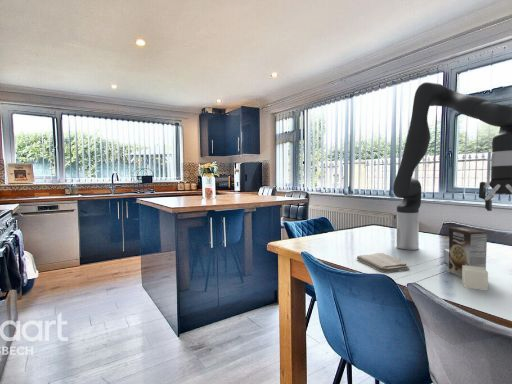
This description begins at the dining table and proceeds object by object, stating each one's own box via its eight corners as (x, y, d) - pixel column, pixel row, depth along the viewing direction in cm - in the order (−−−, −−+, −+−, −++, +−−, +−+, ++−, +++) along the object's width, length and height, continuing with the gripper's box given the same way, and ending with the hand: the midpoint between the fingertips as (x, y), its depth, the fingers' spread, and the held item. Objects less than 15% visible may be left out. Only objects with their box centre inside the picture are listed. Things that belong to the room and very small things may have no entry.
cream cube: (465, 287, 88) (465, 270, 87) (462, 281, 93) (462, 265, 92) (487, 290, 85) (487, 272, 85) (483, 284, 90) (483, 267, 90)
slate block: (449, 265, 109) (449, 252, 109) (443, 261, 114) (443, 249, 114) (464, 265, 108) (464, 252, 108) (458, 261, 113) (458, 249, 113)
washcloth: (383, 274, 102) (383, 266, 102) (355, 260, 120) (355, 253, 120) (411, 271, 105) (411, 263, 105) (380, 258, 122) (380, 250, 122)
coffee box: (447, 271, 102) (448, 227, 101) (464, 270, 102) (464, 226, 102) (468, 280, 93) (469, 232, 92) (487, 279, 93) (487, 231, 93)
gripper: (475, 165, 101) (475, 211, 102) (530, 163, 89) (529, 214, 90) (484, 166, 105) (483, 209, 106) (536, 163, 94) (536, 212, 94)
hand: (504, 211), depth 98 cm, fingers open, 8 cm apart
